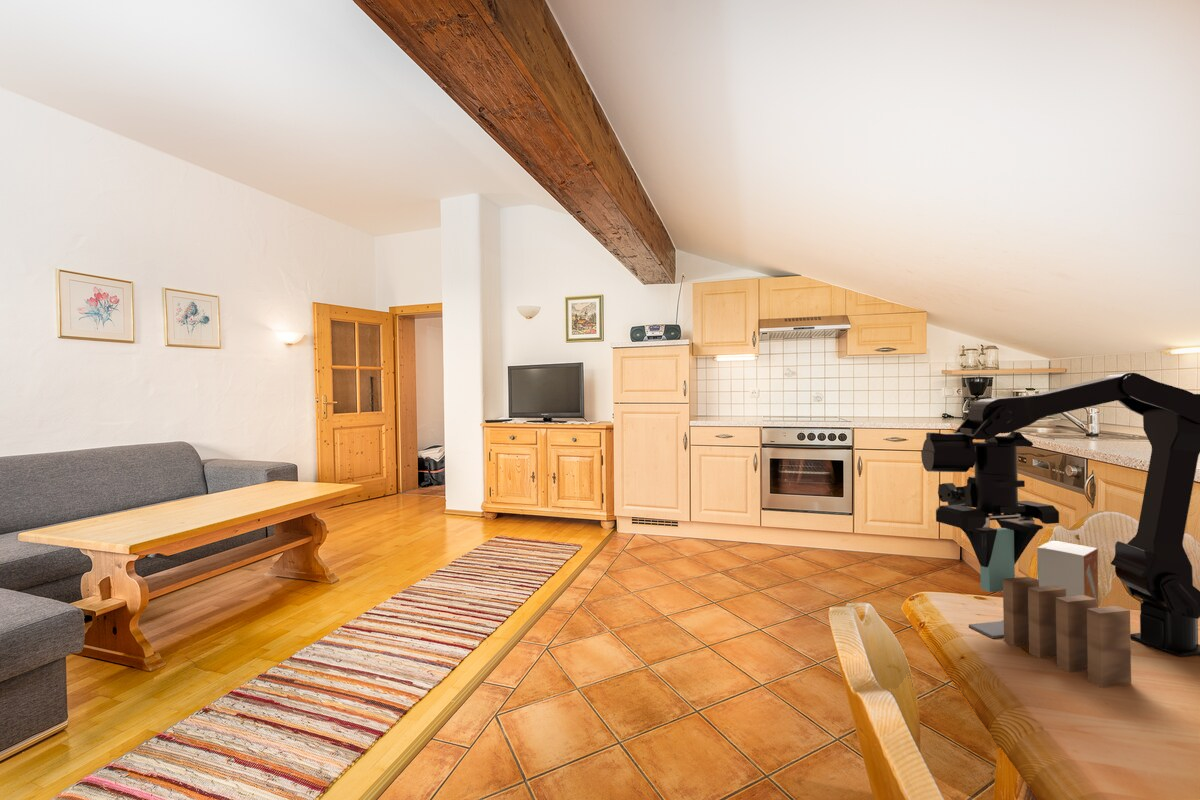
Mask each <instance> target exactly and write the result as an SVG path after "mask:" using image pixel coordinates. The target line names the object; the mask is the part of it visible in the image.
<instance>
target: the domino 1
mask: <svg viewBox="0 0 1200 800" xmlns="http://www.w3.org/2000/svg"><path fill="white" fill-rule="evenodd" d="M996 529H997V534H996V538H995V542H994V547H993V551H992V555H991V560H990V562H989V565H988V567H983V566H981V565H980V564H979V565H980V589H981V590H983V591H986V592H988V593H994V592H996V593H997V592H1003V579H1007V578H1016V575H1015V574H1016V571H1015V569H1016V568H1015V565H1016V564H1015V563H1014V530H1011V529H1007V528H1001V527H1000V528H998V527H997V528H996Z"/></svg>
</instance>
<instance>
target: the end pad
mask: <svg viewBox="0 0 1200 800" xmlns="http://www.w3.org/2000/svg"><path fill="white" fill-rule="evenodd" d="M968 627H969V628H971V629H973V630H974V629H975V631H976V630H977V632H979V633H981V634H983V635H985V636H987V637H989V638H991V639H1001V638H1004V620H999V621H988V622H980V623H979V622H978V623H977V622H976V623H970V624H968Z"/></svg>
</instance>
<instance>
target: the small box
mask: <svg viewBox="0 0 1200 800" xmlns="http://www.w3.org/2000/svg"><path fill="white" fill-rule="evenodd" d="M1098 550H1099V548H1098V547H1092V546H1089V545H1088V546H1087V545H1082V544H1081V545H1080V544H1076V543H1071V542H1065V541H1057V540H1051V541H1048V542H1045V543H1043V544H1042V545H1039V546H1038V547H1037V548H1036V551H1037V552H1036V558H1037V559H1036V561H1037V562H1036V563H1037V564H1036V567H1037V571H1036V573H1037V575H1036V576H1037V578H1036V579H1037V580H1039V587H1042V586H1053V585H1055V586H1058V587H1061V588H1064V589H1066V597H1067V596H1078V595H1085V596H1088V597H1091V598H1094V599H1096V608H1098V607H1099V574H1098V573H1099V571H1098V570H1099V567H1098V566H1099V563H1098V562H1099V561H1098V560H1099V558H1098V557H1099V555H1098V554H1099V551H1098Z"/></svg>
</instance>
